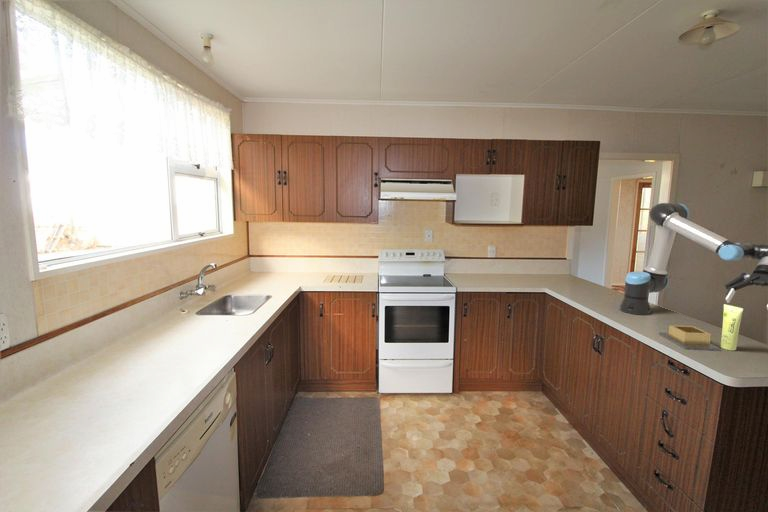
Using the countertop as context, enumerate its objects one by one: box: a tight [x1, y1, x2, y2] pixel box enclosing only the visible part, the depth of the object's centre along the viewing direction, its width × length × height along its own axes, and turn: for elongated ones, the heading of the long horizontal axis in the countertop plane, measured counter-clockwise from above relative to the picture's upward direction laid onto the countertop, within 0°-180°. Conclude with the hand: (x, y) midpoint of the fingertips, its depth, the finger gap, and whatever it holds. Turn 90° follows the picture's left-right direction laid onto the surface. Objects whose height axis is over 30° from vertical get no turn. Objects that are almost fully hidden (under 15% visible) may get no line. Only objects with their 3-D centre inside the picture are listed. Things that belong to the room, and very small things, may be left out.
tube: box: [720, 303, 744, 351], centre depth 152 cm, size 6×5×20 cm
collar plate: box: [658, 325, 722, 352], centre depth 161 cm, size 18×14×6 cm
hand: (746, 304), depth 154 cm, fingers open, 13 cm apart
